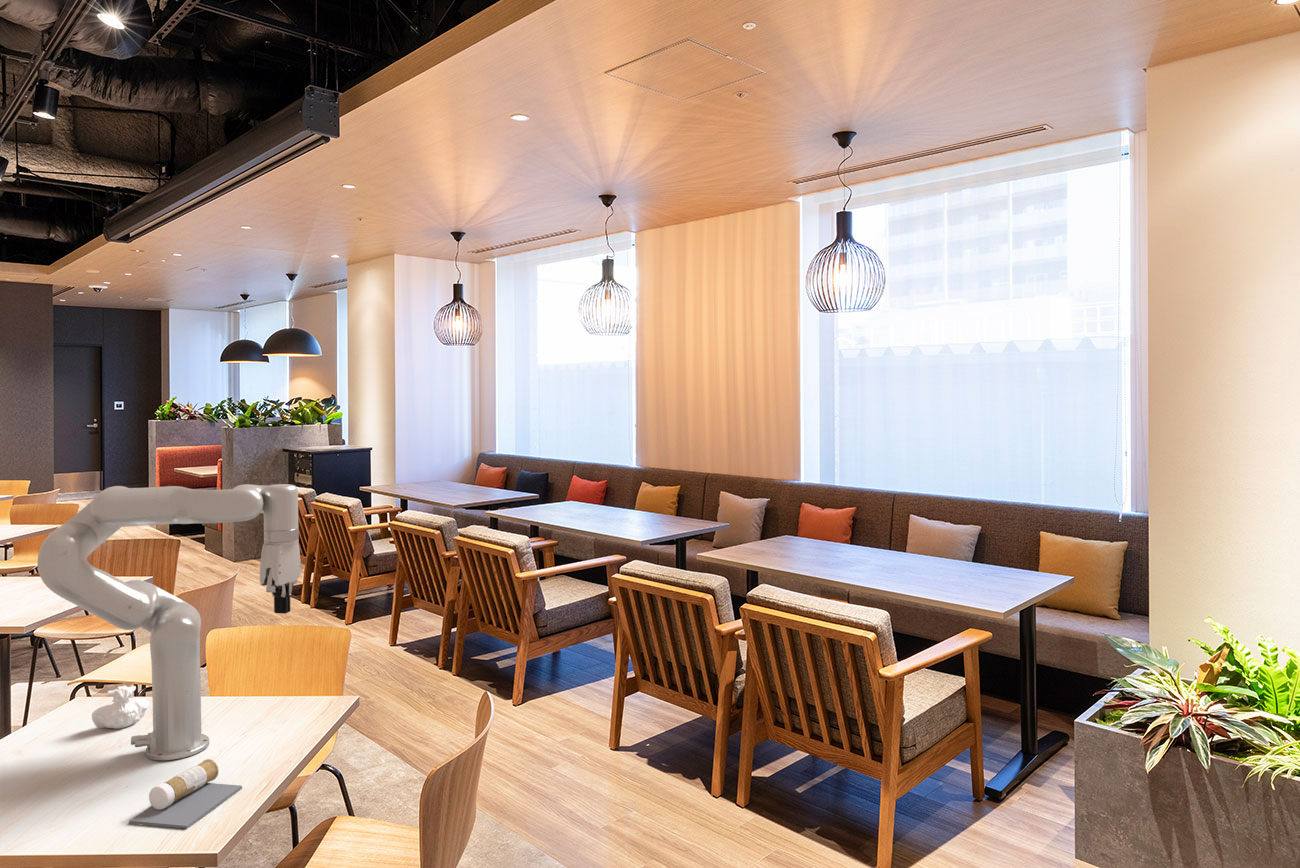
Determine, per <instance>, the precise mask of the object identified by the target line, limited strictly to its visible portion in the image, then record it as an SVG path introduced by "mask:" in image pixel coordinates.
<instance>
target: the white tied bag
mask: <svg viewBox="0 0 1300 868" xmlns="http://www.w3.org/2000/svg"><path fill="white" fill-rule="evenodd" d="M136 689H137V687H136V685H132V686H129V687H128V686H127V685H122V686H117V689H113V690H107V694H108V696H110V697H113V699H112V701H111V702H112V704H107V705H103V706H100V707H98V708H96V709H95V710H94V711H92V713H91V719H92V722H93V724H94V726H95V727H96V728H108V729H109V728H110V729H114V730H115V729H117V730H118V729H124V728H127V727H129V726H131V725H133V724H135V723H136V722H138V721H139V720H140V719H142V718H143V717H144V716H145V715H146V712H147V710H148V708H149V706H150V701H149V700H147V699H145V698H134V699H133V692H135V691H136ZM123 727H124V728H123Z"/></svg>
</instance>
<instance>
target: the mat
mask: <svg viewBox="0 0 1300 868" xmlns="http://www.w3.org/2000/svg"><path fill="white" fill-rule="evenodd" d="M242 789H243V785H239V784H238V785H237V784H227V783H225V784H224V783H214V782H208V783H206V784H204V785H203V786H202V787H200V788H198V789H196V790H194V791H193V792H191V793H189V794H187V795H186V796H183V797H182V798H180V799H178V800H176V801H175V802H173V803H172V804H171V805H170V806H168V807H166V808H164V809H161V810H158V809H155V808H154V807H153V806H152V805H150V806H149V807H147V809H145V810H143V811H142V812H140V813H139V814H137V815H135V816H134V817H133V818H131V819H130V820H129V821H128V823H129V825H137V824H142V825H141V826H148V825H151V827H159V826H164V827H163V828H170V827H174V828H173V829H181V828H186V829H185V830H188V829H189V828H190V827H192V826H193V825H195V824H196V823H197V822H199V821H200V820H201V819H203V818H205V816H206V815H208V814H210V813H211V812H212V811H214V810H215V809H216V808H218V807H219V806H220V805H222V804H223V803H225V802H226V801H228V799H230V798H231V797H232V796H234V795H236V794H237V793H238V792H239V791H241V790H242ZM202 817H203V818H202ZM191 825H192V826H191ZM188 827H189V828H188ZM187 828H188V829H187Z"/></svg>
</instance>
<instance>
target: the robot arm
mask: <svg viewBox="0 0 1300 868" xmlns="http://www.w3.org/2000/svg"><path fill="white" fill-rule="evenodd" d="M260 514H263V544H262V548H261V555H260V563H259V564H260V565H259V584H260V585H261V586H262V587H263V586H264V587H265V586H266V589H265V592H266V593H271V595H272V597H273V612H274V614H288V613H290V612H291V595H292V593H293V591H292V590H293V587H294V586H295V585H296V584H297V583H298V579H299V578H300V577H301V573H302V572H301V569H302V567H301V566H302V564H301V563H302V561H301V549H300V545H299V540H300V539H299V538H300V537H299V536H300V535H299V490H298V488H297V486H296V485H295V484H288V483H278V484H277V483H276V484H270V485H265V484H264V485H263V484H262V485H260V484H250V483H247V484H240V485H239V484H238V485H236V486H235V487H233V488H231V489H230V488H228V489H225V488H224V489H195V488H188V487H184V486H180V485H179V486H178V485H168V486H167V485H166V486H154V487H153V486H152V487H127V486H123V485H114V486H111V487H110V486H109V487H107V488H105V489H103V490H102V491H100V492H99V493H98V494H96V496H94V498H93V499H92V500H91V501H90V502H89V503H88V504H87V505H85V506H84V507H83V508H82V509H80V510H79V511H78V512H77V513H76V514H74V515H73V516H72V517H71V518H69V519H68V520H67V521H66V522H65V523H63V524H61V526H59V527H58V528H57V529H55V530H53V531H52V532H51V533H50V534H48V536H46V537H45V538H44V540H43V541H42V544H41V546H40V547H39V550H38V555H37V571H38V574H39V576H40V579H41V581H42V582H43V584H44V585H45V587H46V588H48V589H49V590H50V591H51V592H52V593H54V594H55V595H57V596H58V597H60V598H62V599H64V600H65V601H68V602H70V603H72V604H73V605H76V606H78V607H79V608H81V609H83V610H84V611H86V612H87V613H90V614H92V615H94V616H96V617H97V618H100V619H102V620H103V621H105V622H106V623H109V624H110V625H112V626H114V627H116V628H118V629H120V630H125V631H134V630H137V629H139V628H141V629H142V630H145V631H146V632H149V633H150V637H149V638H150V639H149V648H150V649H149V650H150V662H151V663H150V664H151V686H152V688H151V689H152V690H151V691H152V694H151V695H152V732H147V734H143V735H142V734H139V735H131V738H130V745H131V746H134V748H142V747H146V748H145V752H144V753H145V757H146V758H148V759H150V760H154V761H173V760H179V759H184V758H187V757H190V756H193V755H195V754H198V753H200V752H202V751H204V750H205V749H206V748H207V747H208V746H209V745H210V737H209V736H208V735H206V734H204V733H202V699H201V697H202V695H201V694H202V692H201V688H202V687H201V680H202V679H201V649H200V643H201V627H202V619H201V614H200V613H199V611H198V610H197V608H195V607H194V606H193V605H191V604H190V603H188V602H186V601H185V600H183V599H181V598H179V597H177V596H176V595H174V594H172V593H170V592H168V591H167V590H165V589H163V588H161V587H159V586H157V585H156V584H153V583H150V582H148V581H145V580H141V579H132V580H128V581H126V582H125V581H123V580H122V579H120V578H118V577H115V576H114V575H113V574H110V573H109V572H107V571H105V570H103V569H100V568H98V567H95V566H93V565H92V564H91V563H89V561H88V557H90V555H92V553H93V552H94V551H95V550H96V549H97V548H99V547H100V546H101V545H102V544H104V543H105V541H107V540H108V539H109V538H110V537H112V536H113V535H115V533H116V532H117V531H118V530H120V529H121V528H126V527H128V528H129V527H140V526H143V527H144V526H158V525H174V524H175V525H177V524H178V525H179V524H180V525H189V524H190V525H191V524H221V523H222V524H223V523H224V524H225V523H237V522H238V523H239V522H247V521H250V520H252V519H255V518H257V517H258V516H259V515H260Z"/></svg>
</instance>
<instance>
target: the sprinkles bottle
mask: <svg viewBox="0 0 1300 868" xmlns="http://www.w3.org/2000/svg"><path fill="white" fill-rule="evenodd" d="M218 776H219V766H218V765H217V763H216V761H214V760H213V759H208V758H207V759H204V760H203V761H202V762H200V763H199V764H196V765H195V766H194V765H193V766H192V767H191V768H189V769H187V770H185V771H183V772H181V773H179V774H177V775H175V776H173V777H172V778H170V779H169V780H167V781H165V782H162V783H159V784H157V785H155V786H154V787H153V788H152V789H150V791H149V793H148V800H149V801H148V802H149V803H150V806H153V807H154V808H155V809H158V810H161V809H164V808H166V807H168V806H170V805H171V804H172V803H173V802H175V801H176V800H178V799H180V798H182V797H183V796H186V795H187V794H189V793H191V792H193V791H194V790H196V789H198V788H200V787H202V786H203V785H204V784H206V783H211V782H213V781H214V780H215V779H216V778H217V777H218Z"/></svg>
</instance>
